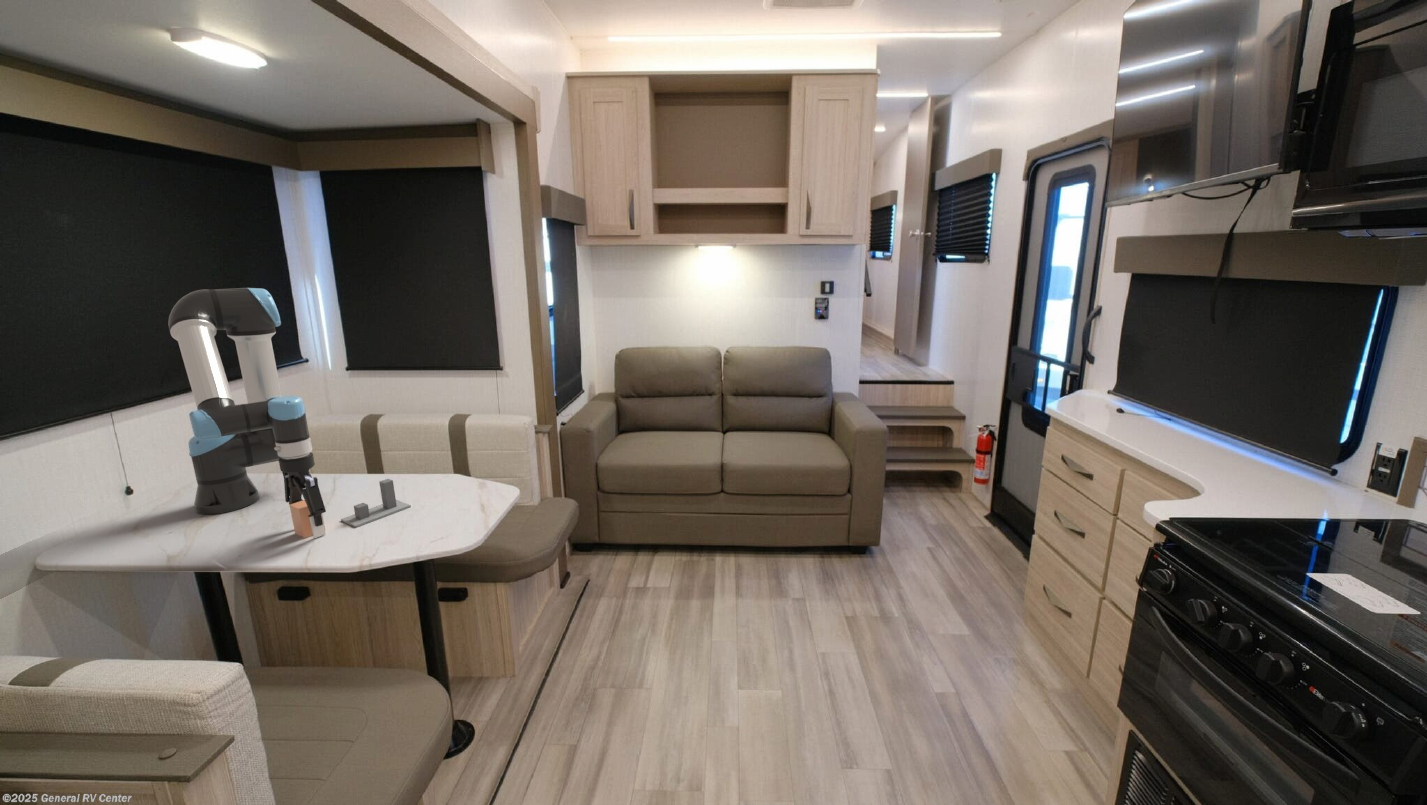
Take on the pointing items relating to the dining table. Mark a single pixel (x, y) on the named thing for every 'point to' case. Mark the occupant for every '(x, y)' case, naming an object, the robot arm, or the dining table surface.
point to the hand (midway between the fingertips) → (310, 531)
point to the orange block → (301, 519)
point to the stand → (377, 507)
